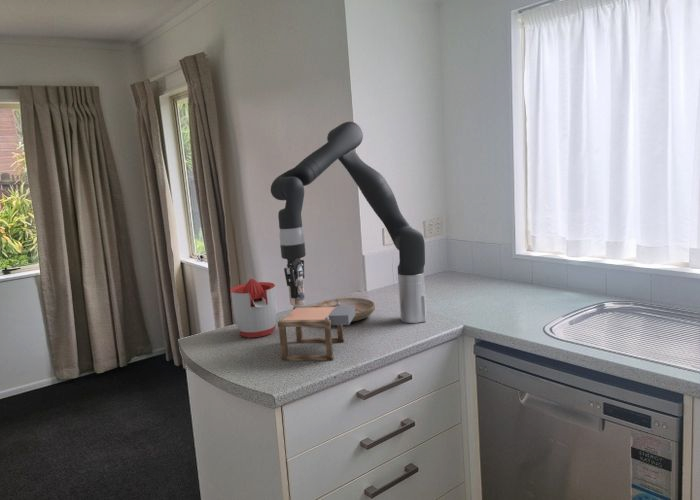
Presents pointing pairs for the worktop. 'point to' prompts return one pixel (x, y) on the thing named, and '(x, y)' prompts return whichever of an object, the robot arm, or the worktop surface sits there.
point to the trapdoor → (324, 314)
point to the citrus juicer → (254, 308)
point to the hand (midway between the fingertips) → (297, 295)
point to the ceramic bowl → (361, 306)
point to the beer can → (301, 297)
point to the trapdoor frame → (309, 323)
